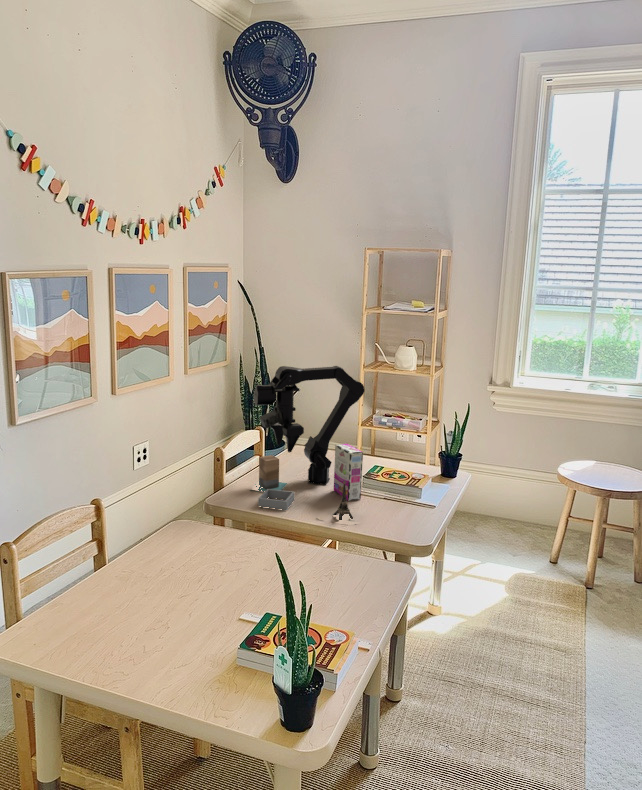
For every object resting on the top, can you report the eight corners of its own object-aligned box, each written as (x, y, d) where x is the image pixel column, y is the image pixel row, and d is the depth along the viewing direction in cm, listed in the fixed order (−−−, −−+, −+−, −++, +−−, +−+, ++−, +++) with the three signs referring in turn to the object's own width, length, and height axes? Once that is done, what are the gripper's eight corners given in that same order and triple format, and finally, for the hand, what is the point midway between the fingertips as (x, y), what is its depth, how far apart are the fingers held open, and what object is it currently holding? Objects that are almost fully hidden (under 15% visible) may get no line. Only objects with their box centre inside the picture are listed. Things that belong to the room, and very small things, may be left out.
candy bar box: (361, 499, 216) (363, 451, 212) (348, 501, 214) (350, 453, 210) (345, 488, 226) (347, 442, 222) (332, 490, 223) (334, 444, 220)
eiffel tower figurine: (312, 521, 198) (314, 479, 196) (325, 509, 208) (326, 469, 205) (359, 530, 193) (361, 486, 190) (370, 517, 202) (372, 476, 200)
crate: (294, 500, 213) (294, 491, 213) (286, 510, 204) (286, 501, 204) (267, 497, 215) (267, 488, 215) (258, 507, 206) (258, 498, 206)
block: (278, 487, 224) (279, 458, 222) (265, 489, 221) (266, 461, 219) (271, 482, 228) (272, 455, 226) (258, 485, 225) (259, 457, 223)
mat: (287, 484, 228) (287, 482, 228) (278, 493, 219) (278, 492, 219) (259, 481, 231) (259, 480, 230) (250, 490, 221) (250, 489, 221)
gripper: (252, 400, 226) (252, 443, 229) (273, 411, 210) (272, 458, 213) (282, 397, 231) (281, 440, 234) (305, 409, 215) (303, 455, 218)
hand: (284, 448), depth 225 cm, fingers open, 9 cm apart
